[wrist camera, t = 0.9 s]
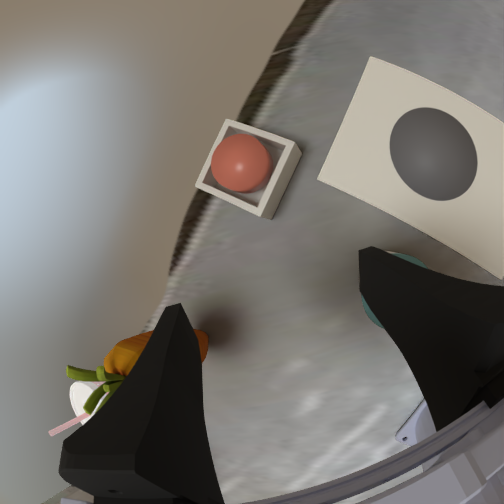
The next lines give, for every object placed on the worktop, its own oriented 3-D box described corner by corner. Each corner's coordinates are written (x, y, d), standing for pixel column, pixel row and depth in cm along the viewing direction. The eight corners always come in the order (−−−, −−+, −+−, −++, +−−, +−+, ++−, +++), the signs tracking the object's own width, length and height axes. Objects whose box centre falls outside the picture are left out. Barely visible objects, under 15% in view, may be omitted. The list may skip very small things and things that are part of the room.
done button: (282, 152, 22) (275, 144, 20) (259, 202, 22) (250, 198, 20) (235, 135, 23) (225, 127, 21) (214, 182, 24) (202, 177, 22)
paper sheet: (537, 149, 16) (538, 148, 15) (501, 280, 18) (502, 280, 18) (370, 56, 21) (370, 55, 21) (317, 179, 23) (316, 179, 23)
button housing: (302, 153, 23) (294, 142, 20) (271, 219, 24) (260, 216, 21) (240, 130, 25) (226, 118, 22) (211, 192, 26) (194, 186, 23)
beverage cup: (163, 356, 28) (56, 410, 15) (176, 407, 28) (85, 475, 15) (122, 352, 30) (21, 392, 17) (134, 400, 30) (46, 451, 17)
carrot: (175, 317, 27) (44, 365, 13) (218, 303, 26) (85, 357, 12) (193, 365, 27) (77, 439, 13) (238, 356, 25) (127, 447, 11)
